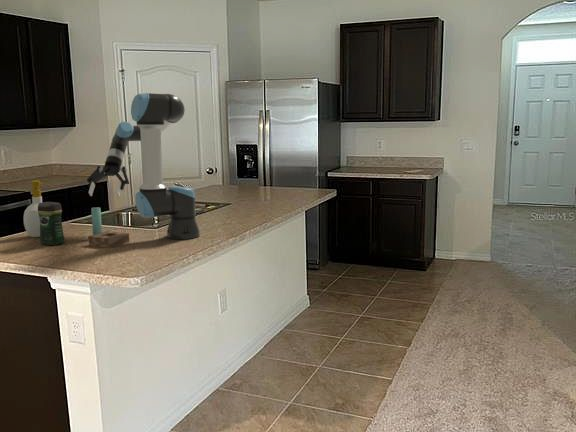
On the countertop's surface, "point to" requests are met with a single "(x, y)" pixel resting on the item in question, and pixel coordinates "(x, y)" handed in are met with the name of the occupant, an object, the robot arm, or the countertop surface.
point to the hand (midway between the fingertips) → (104, 194)
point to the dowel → (96, 220)
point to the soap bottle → (33, 212)
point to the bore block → (108, 239)
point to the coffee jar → (50, 223)
